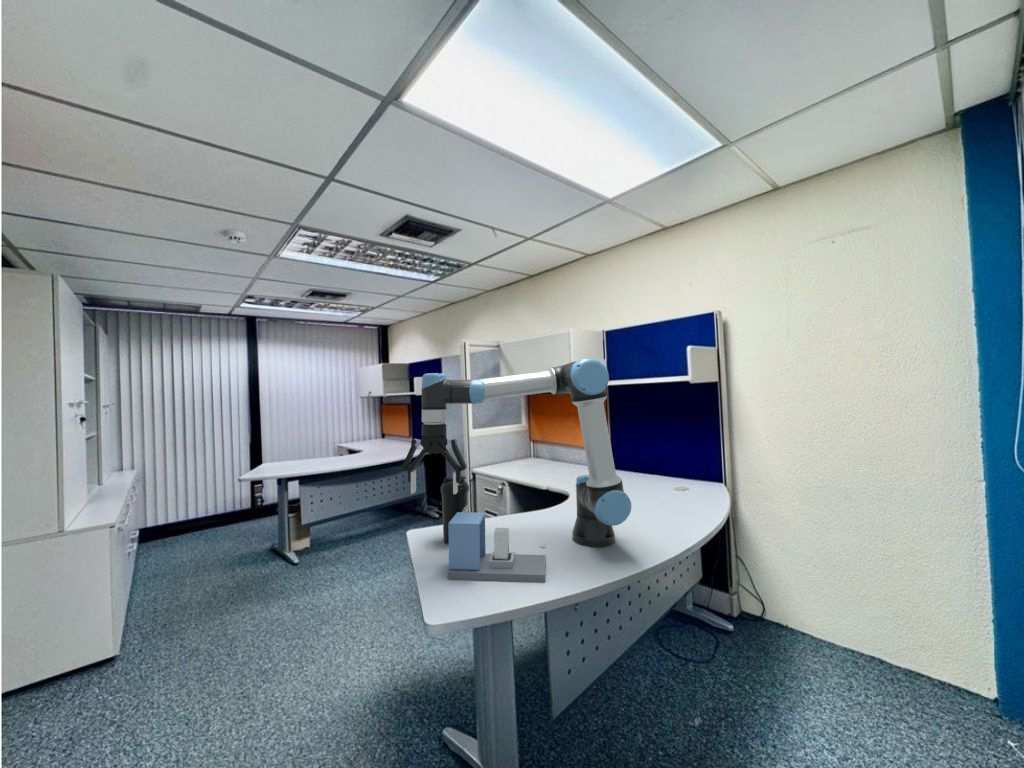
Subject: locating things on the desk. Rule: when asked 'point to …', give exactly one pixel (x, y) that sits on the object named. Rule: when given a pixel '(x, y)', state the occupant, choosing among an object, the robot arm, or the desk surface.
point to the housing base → (505, 569)
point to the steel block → (501, 544)
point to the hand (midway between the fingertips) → (434, 492)
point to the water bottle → (453, 502)
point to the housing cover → (466, 540)
